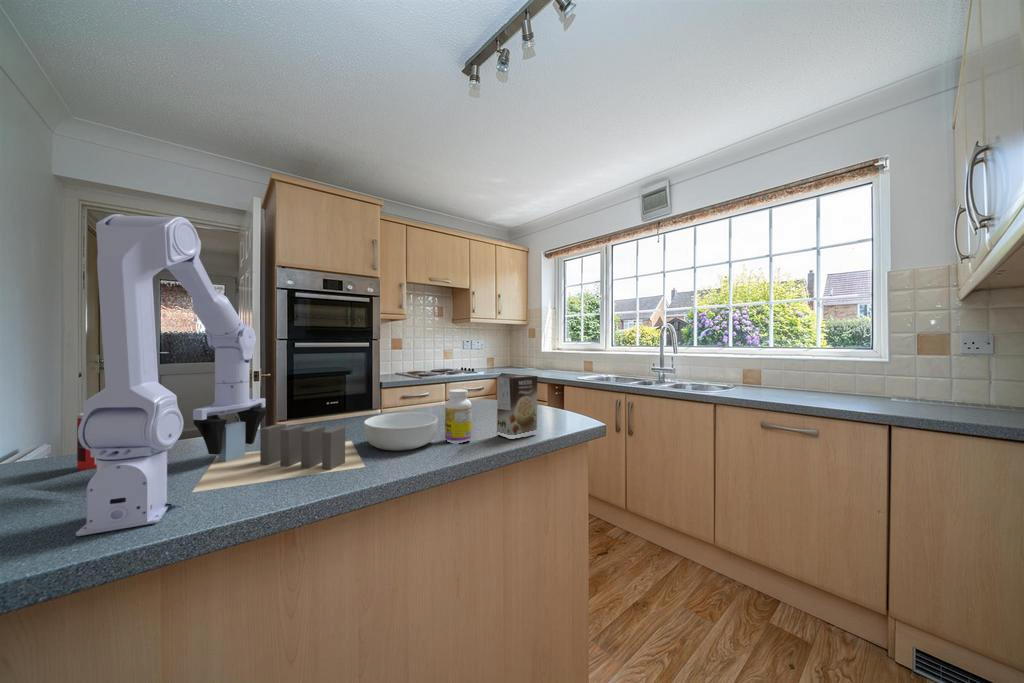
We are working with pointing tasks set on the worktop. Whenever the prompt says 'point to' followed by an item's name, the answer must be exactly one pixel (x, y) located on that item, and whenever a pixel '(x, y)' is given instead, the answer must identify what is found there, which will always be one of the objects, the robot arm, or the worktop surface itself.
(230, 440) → the tile blue
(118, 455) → the robot arm
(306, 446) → the tile
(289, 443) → the tile
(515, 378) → the dessert mix box
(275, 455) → the tile
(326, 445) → the tile
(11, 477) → the worktop surface
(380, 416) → the cereal bowl
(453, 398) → the supplement bottle
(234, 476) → the board
